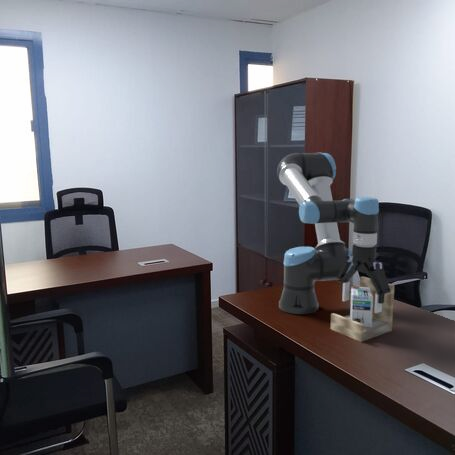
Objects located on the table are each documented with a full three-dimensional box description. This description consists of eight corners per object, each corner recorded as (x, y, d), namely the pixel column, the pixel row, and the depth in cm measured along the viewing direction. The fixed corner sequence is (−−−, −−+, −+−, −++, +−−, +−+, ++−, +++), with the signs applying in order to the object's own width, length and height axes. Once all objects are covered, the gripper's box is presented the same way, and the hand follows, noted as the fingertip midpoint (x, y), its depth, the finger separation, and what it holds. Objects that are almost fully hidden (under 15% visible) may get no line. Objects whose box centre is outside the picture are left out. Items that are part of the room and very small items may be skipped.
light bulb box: (372, 328, 150) (373, 296, 148) (351, 326, 151) (352, 295, 149) (369, 316, 160) (370, 286, 158) (349, 315, 161) (350, 285, 159)
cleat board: (330, 329, 157) (332, 283, 154) (361, 319, 165) (362, 276, 163) (360, 342, 146) (363, 293, 143) (391, 330, 155) (394, 285, 152)
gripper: (328, 239, 159) (326, 297, 163) (389, 253, 139) (385, 320, 142) (343, 236, 163) (340, 294, 167) (404, 250, 143) (400, 314, 147)
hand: (361, 306), depth 155 cm, fingers open, 13 cm apart
